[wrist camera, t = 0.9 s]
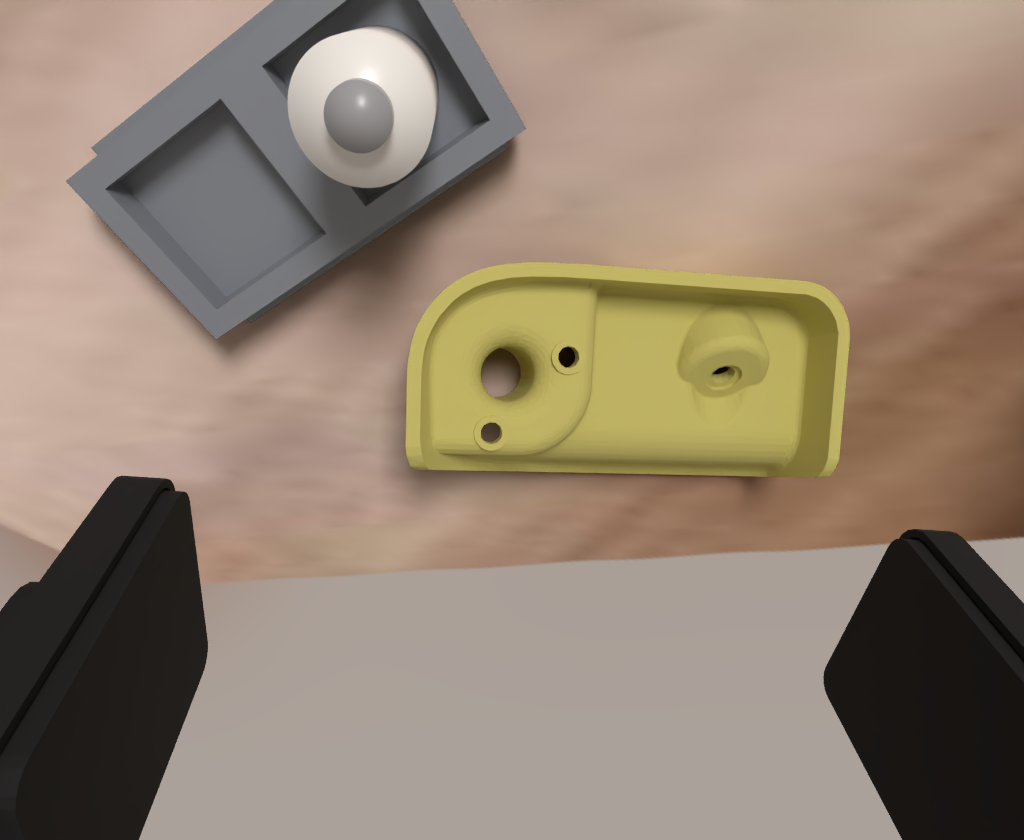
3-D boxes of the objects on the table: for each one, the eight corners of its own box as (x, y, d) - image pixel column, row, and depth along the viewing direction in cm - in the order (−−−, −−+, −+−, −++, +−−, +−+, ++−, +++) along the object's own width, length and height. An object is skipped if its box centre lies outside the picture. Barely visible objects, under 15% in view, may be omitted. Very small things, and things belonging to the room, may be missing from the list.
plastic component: (854, 284, 32) (835, 502, 33) (767, 297, 39) (753, 476, 40) (411, 250, 28) (402, 496, 29) (406, 271, 35) (399, 468, 36)
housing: (397, -95, 25) (391, -104, 23) (527, 130, 30) (532, 140, 27) (85, 157, 29) (54, 169, 27) (239, 325, 33) (224, 348, 31)
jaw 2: (393, -1, 26) (370, -2, 19) (461, 108, 28) (461, 141, 21) (301, 70, 27) (249, 92, 20) (372, 170, 29) (346, 221, 22)
